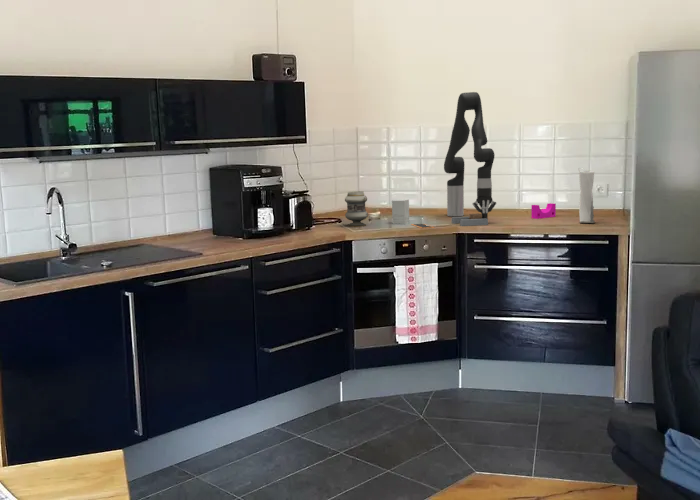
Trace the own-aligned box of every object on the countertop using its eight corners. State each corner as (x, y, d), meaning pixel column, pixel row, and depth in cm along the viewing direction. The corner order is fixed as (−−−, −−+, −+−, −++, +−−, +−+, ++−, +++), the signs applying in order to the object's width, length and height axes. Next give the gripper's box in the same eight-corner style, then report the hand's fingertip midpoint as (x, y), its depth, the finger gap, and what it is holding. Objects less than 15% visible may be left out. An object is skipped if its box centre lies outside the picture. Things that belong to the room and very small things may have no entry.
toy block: (546, 216, 447) (547, 203, 446) (555, 217, 442) (555, 203, 441) (528, 218, 439) (528, 204, 438) (536, 219, 434) (536, 205, 433)
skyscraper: (576, 222, 411) (577, 167, 407) (578, 221, 418) (579, 167, 414) (593, 222, 408) (594, 167, 404) (595, 221, 415) (596, 167, 411)
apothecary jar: (341, 225, 424) (341, 191, 421) (362, 224, 428) (361, 190, 426) (350, 227, 413) (350, 192, 410) (372, 226, 417) (371, 191, 415)
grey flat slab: (451, 223, 423) (451, 217, 423) (476, 221, 426) (476, 216, 425) (462, 226, 407) (462, 220, 407) (487, 224, 410) (487, 219, 410)
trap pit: (411, 224, 419) (411, 224, 419) (423, 224, 421) (423, 223, 421) (421, 228, 402) (421, 227, 402) (434, 227, 403) (434, 227, 403)
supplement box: (409, 222, 429) (409, 199, 427) (404, 224, 423) (404, 200, 421) (397, 222, 432) (396, 199, 431) (391, 223, 426) (391, 200, 424)
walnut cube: (469, 223, 419) (469, 213, 418) (478, 223, 420) (478, 213, 419) (473, 224, 414) (473, 214, 413) (482, 223, 415) (482, 214, 414)
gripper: (493, 186, 421) (493, 219, 423) (469, 187, 418) (469, 220, 420) (499, 186, 414) (499, 220, 416) (475, 187, 411) (475, 221, 413)
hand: (484, 220), depth 418 cm, fingers closed
